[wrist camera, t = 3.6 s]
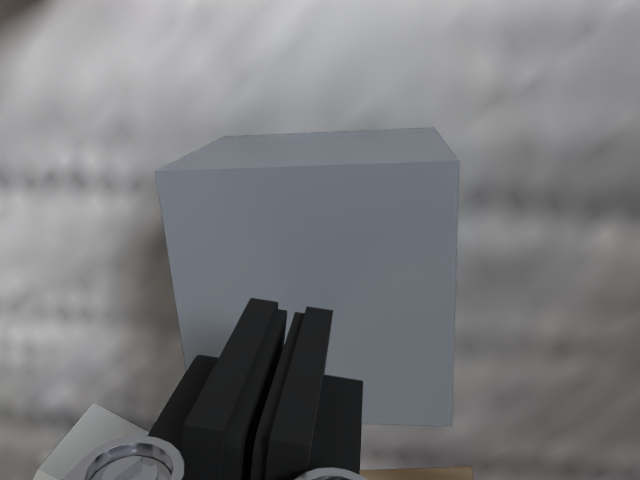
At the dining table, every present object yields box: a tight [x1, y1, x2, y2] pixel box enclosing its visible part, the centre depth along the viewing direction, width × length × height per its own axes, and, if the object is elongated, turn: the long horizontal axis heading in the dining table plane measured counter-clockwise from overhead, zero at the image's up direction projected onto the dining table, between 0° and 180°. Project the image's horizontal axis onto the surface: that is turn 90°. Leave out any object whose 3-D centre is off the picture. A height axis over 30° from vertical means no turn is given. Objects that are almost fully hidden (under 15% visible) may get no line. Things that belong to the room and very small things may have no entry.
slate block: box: [155, 128, 459, 426], centre depth 16 cm, size 7×7×6 cm
